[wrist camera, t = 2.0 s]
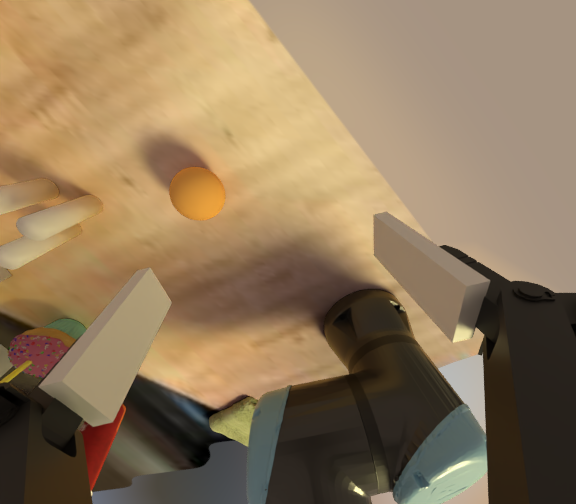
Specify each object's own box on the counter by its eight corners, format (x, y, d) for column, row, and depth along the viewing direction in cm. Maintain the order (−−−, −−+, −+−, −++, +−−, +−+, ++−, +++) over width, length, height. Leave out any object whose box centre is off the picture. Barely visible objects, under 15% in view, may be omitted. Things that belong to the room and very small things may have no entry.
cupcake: (27, 313, 34) (-77, 393, 24) (84, 305, 35) (7, 379, 24) (60, 351, 38) (-17, 433, 28) (110, 343, 39) (54, 421, 28)
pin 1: (51, 177, 26) (-31, 193, 19) (63, 197, 27) (-10, 220, 20) (30, 179, 26) (-61, 197, 19) (43, 200, 27) (-38, 224, 20)
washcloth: (253, 440, 60) (252, 455, 57) (206, 413, 52) (203, 429, 49) (294, 420, 58) (295, 435, 55) (251, 389, 50) (251, 405, 47)
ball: (221, 160, 28) (212, 167, 22) (232, 208, 30) (227, 223, 25) (172, 167, 27) (151, 175, 22) (188, 214, 30) (172, 231, 25)
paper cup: (84, 398, 44) (17, 499, 32) (126, 395, 45) (76, 492, 33) (97, 419, 48) (40, 518, 36) (135, 417, 49) (93, 512, 37)
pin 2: (75, 217, 29) (10, 246, 21) (85, 234, 30) (27, 267, 22) (55, 220, 29) (-16, 249, 21) (66, 237, 30) (2, 271, 22)
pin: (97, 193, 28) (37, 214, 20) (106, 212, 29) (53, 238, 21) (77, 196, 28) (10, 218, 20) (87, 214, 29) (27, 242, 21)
